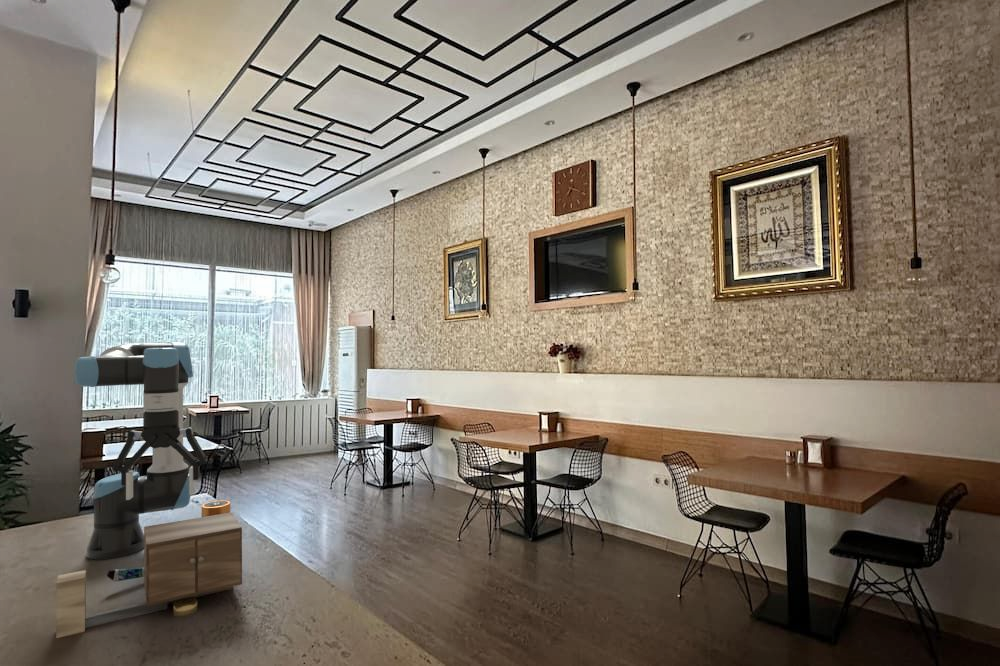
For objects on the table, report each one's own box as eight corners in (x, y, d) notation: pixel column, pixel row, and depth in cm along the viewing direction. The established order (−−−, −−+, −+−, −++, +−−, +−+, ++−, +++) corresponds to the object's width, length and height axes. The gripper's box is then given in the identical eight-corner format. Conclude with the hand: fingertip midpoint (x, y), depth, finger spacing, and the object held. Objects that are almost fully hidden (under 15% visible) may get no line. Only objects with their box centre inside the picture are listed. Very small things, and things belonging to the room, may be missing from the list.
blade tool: (58, 628, 126) (58, 575, 126) (166, 603, 138) (166, 554, 138) (56, 638, 122) (56, 583, 122) (167, 611, 134) (167, 560, 134)
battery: (225, 579, 151) (225, 505, 152) (197, 581, 150) (197, 507, 150) (234, 569, 158) (233, 498, 159) (207, 571, 157) (206, 499, 158)
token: (172, 611, 134) (172, 601, 134) (196, 605, 137) (196, 595, 137) (174, 619, 130) (174, 609, 130) (198, 613, 133) (198, 603, 133)
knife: (106, 588, 143) (108, 570, 144) (104, 585, 146) (106, 567, 146) (230, 567, 164) (232, 551, 165) (227, 564, 167) (228, 549, 167)
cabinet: (144, 601, 139) (144, 526, 139) (232, 581, 150) (232, 512, 150) (146, 628, 125) (146, 546, 126) (243, 604, 137) (242, 528, 137)
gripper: (96, 414, 131) (96, 504, 131) (214, 408, 139) (214, 494, 138) (108, 410, 138) (108, 496, 138) (219, 405, 146) (219, 487, 145)
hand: (161, 495), depth 138 cm, fingers open, 13 cm apart
